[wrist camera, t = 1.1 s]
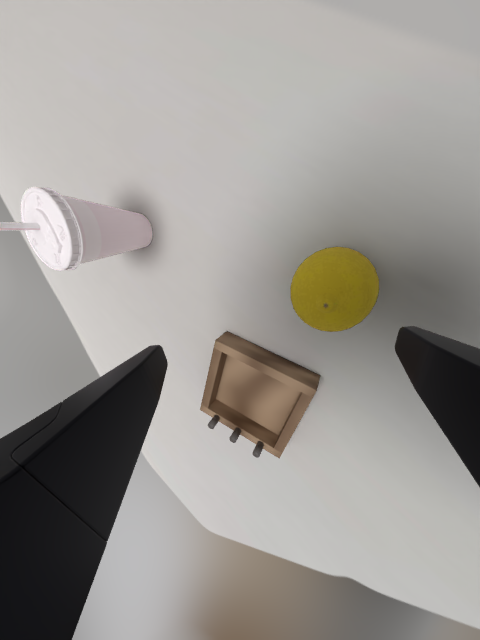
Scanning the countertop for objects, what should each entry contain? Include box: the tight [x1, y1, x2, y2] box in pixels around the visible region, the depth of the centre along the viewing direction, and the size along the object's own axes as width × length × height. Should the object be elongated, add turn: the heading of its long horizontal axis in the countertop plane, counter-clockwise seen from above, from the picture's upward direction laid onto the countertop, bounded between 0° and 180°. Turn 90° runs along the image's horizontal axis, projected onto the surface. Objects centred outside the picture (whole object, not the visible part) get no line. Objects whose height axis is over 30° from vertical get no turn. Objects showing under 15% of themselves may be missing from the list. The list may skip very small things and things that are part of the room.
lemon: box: [291, 247, 379, 332], centre depth 16 cm, size 6×6×8 cm
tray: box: [200, 331, 320, 458], centre depth 25 cm, size 11×11×4 cm
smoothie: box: [0, 187, 153, 271], centre depth 20 cm, size 6×6×14 cm
